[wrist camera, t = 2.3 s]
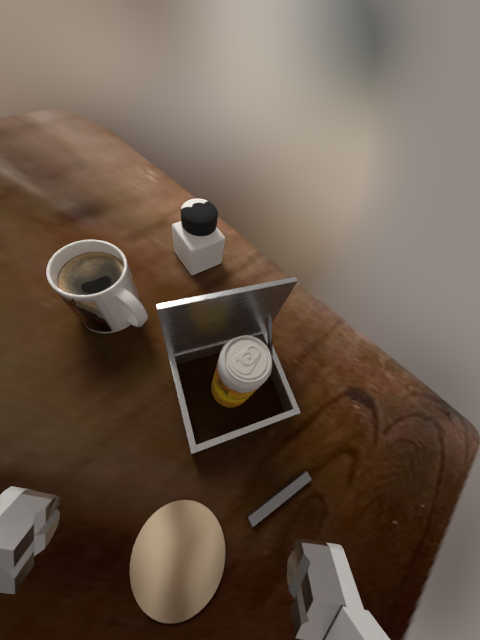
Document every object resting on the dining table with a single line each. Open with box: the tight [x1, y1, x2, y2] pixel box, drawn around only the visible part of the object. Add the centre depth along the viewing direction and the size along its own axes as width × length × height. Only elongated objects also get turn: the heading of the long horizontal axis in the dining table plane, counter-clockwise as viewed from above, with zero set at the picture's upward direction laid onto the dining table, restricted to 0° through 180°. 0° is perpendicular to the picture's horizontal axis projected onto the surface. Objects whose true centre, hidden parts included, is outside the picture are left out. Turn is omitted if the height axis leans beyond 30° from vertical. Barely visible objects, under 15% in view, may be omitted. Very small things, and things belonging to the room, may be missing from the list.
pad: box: [130, 500, 225, 623], centre depth 30 cm, size 11×11×1 cm
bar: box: [247, 471, 312, 527], centre depth 35 cm, size 10×1×1 cm, turn 121°
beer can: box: [211, 336, 272, 408], centre depth 34 cm, size 6×6×15 cm
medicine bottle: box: [172, 199, 225, 275], centre depth 47 cm, size 7×7×12 cm
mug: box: [46, 240, 148, 333], centre depth 38 cm, size 10×12×11 cm
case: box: [156, 277, 301, 454], centre depth 33 cm, size 16×14×18 cm
